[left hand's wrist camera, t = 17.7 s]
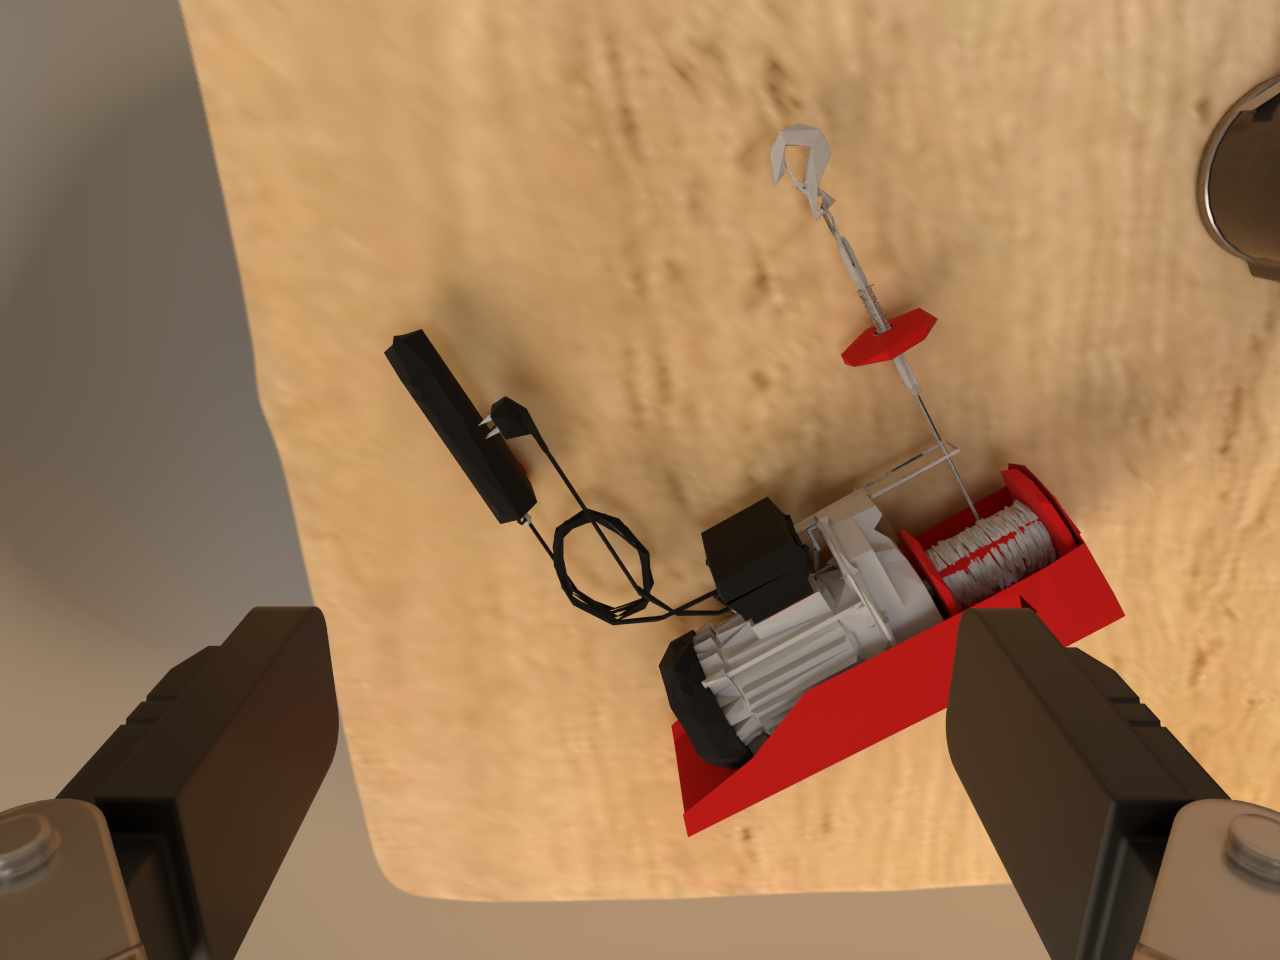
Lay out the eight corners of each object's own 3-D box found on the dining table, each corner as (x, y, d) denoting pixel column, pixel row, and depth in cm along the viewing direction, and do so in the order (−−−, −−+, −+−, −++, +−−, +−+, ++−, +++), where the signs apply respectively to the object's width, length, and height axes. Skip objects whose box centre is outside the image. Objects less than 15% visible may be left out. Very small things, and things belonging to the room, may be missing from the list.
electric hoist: (337, 376, 39) (676, 847, 48) (883, 37, 36) (1139, 613, 45) (389, 336, 49) (664, 736, 58) (823, 66, 45) (1044, 536, 54)
